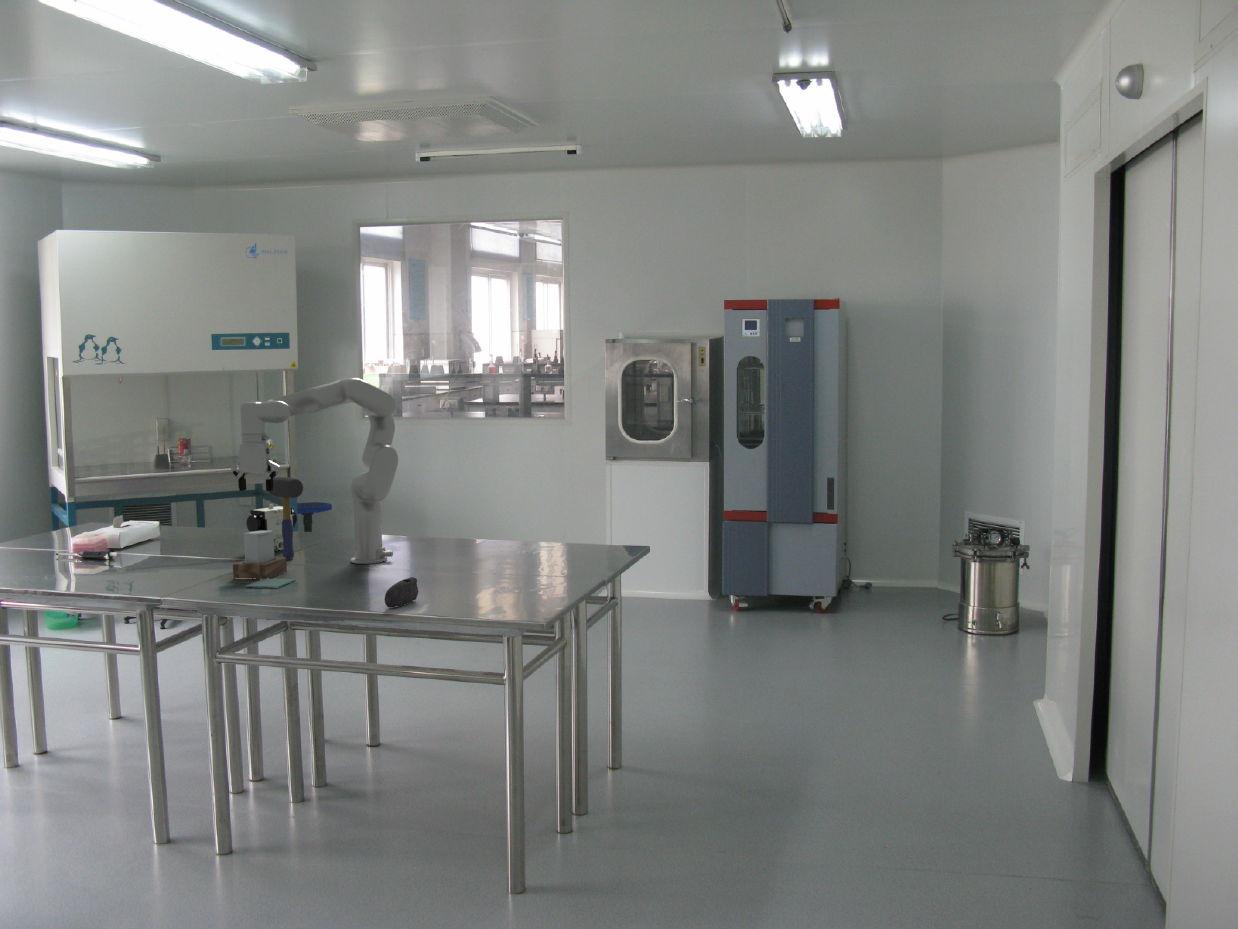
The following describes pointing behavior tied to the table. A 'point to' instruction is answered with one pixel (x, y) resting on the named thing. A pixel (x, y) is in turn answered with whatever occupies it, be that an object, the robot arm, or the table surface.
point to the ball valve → (270, 522)
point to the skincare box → (259, 547)
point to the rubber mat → (270, 583)
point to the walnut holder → (260, 569)
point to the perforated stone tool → (402, 592)
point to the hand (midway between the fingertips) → (256, 490)
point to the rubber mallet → (287, 508)
